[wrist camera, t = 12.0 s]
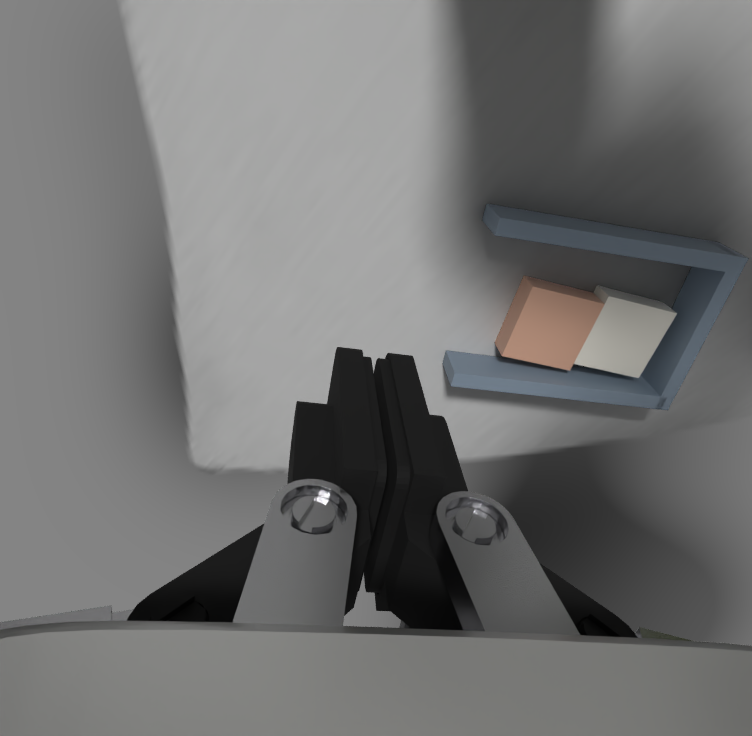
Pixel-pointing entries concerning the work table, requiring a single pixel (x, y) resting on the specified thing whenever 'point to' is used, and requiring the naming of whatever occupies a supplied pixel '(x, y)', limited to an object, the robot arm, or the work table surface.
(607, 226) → the box
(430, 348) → the work table surface
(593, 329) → the cream tile
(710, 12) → the work table surface
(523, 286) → the terracotta tile
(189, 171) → the work table surface
